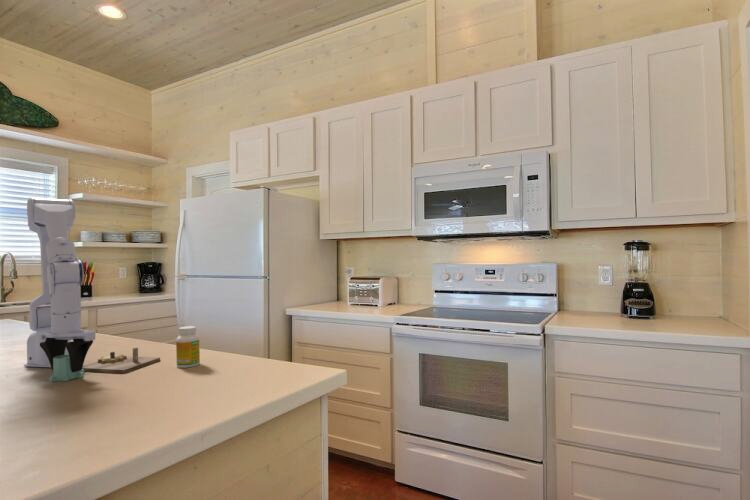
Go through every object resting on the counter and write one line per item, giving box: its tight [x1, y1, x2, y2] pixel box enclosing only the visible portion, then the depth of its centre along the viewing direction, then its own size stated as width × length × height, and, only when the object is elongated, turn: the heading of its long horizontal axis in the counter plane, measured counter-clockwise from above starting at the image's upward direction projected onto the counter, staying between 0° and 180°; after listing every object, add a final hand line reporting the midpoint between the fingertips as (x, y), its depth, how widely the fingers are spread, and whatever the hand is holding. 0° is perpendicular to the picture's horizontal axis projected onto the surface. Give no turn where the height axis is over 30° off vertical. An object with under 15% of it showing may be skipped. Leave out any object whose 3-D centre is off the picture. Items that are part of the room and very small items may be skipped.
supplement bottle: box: [175, 325, 201, 369], centre depth 108 cm, size 5×5×10 cm
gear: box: [49, 354, 85, 383], centre depth 99 cm, size 7×7×5 cm
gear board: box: [82, 347, 161, 374], centre depth 109 cm, size 14×12×4 cm
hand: (67, 370), depth 99 cm, fingers closed on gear, 5 cm apart
